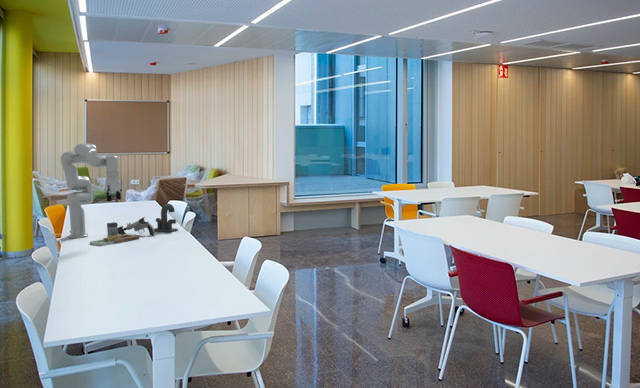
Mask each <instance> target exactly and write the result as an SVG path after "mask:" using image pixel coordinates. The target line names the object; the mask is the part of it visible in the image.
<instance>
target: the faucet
mask: <svg viewBox="0 0 640 388" xmlns="http://www.w3.org/2000/svg"><path fill="white" fill-rule="evenodd" d="M175 212H176V211H175V207H174V206H173V204H171V203H165V204H164V205H163V206H162V207H161V210H160V218H159V217H156V218H155V222H156V224H157V225H156V226H157V227H156V228H154V230H155V233H168V234H169V233H170V234H171V233H175V232H179V229H178V228H174V227H173V225H176V223H177V220H176V219H175V218H173V219H172V218H171V219H168V213H175Z"/></svg>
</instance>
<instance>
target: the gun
mask: <svg viewBox="0 0 640 388" xmlns="http://www.w3.org/2000/svg"><path fill="white" fill-rule="evenodd" d="M145 218H146V217H145V216H143V217H141V218H139V220H137V221H135V222H132V223H131V222H129V223H126V227H124V226H123V225H121V226H118V234H120V235H125V234H127V232H126V231H127V230H128V231H130V230H132V229H134V230H133V231H134V232H138V233H139V234H140V235H141V234H144V233H145V229H146V228H147V231H148V233H149V236H150V237H153V236H155V235H156V232H155V230H154V229H155V228H154V226H153V225H152V224H151V223H149V221H145ZM141 231H142V232H141Z"/></svg>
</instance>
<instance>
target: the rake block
mask: <svg viewBox="0 0 640 388" xmlns="http://www.w3.org/2000/svg"><path fill="white" fill-rule="evenodd" d="M106 228H107V229H106V230H107V232H106V233H107V236H111V235H117V234H118V228H119V226H118V222H114V221H113V222H108V223H106Z"/></svg>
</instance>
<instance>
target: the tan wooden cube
mask: <svg viewBox="0 0 640 388" xmlns="http://www.w3.org/2000/svg"><path fill="white" fill-rule="evenodd" d="M106 238H108V242H110V241H112V240H113V239H117V238H116V236H115V235H111V236H108V235H107V236H106Z"/></svg>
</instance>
